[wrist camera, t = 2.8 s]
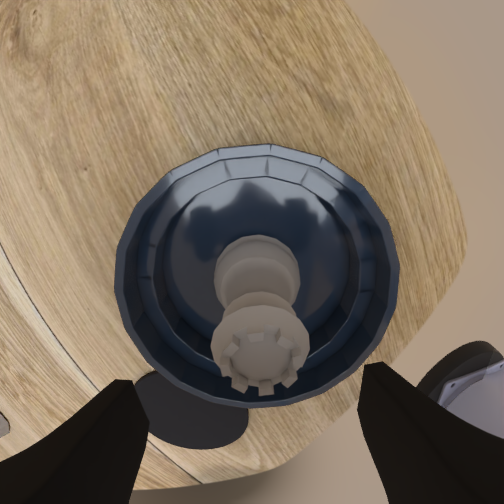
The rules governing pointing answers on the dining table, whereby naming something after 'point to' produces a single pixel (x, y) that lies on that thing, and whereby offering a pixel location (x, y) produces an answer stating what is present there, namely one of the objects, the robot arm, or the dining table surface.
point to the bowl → (248, 224)
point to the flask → (3, 426)
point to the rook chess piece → (258, 315)
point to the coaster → (188, 415)
